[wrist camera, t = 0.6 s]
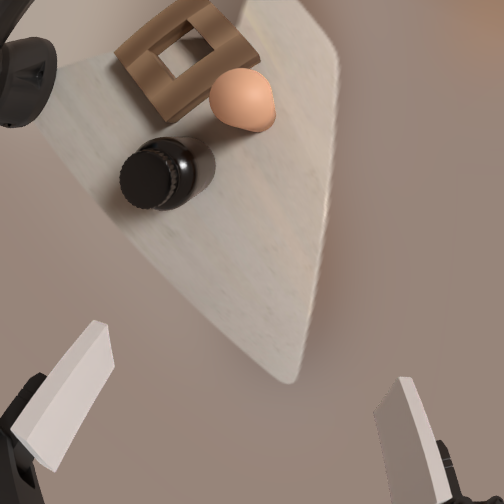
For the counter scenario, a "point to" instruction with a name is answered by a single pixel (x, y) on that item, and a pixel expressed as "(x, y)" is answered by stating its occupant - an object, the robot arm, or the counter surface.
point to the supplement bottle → (167, 172)
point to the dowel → (243, 100)
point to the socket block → (196, 77)
